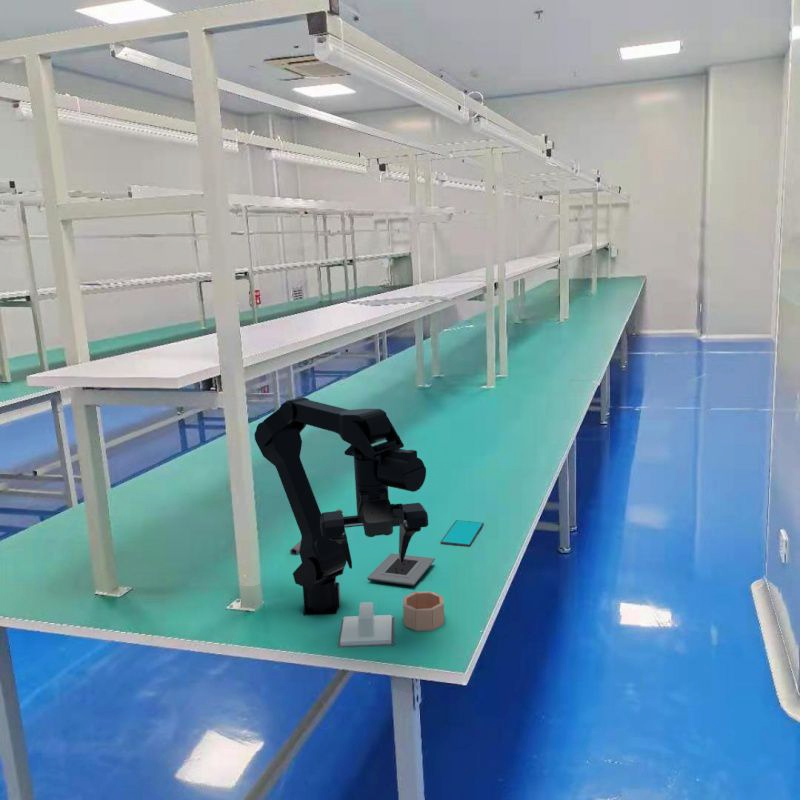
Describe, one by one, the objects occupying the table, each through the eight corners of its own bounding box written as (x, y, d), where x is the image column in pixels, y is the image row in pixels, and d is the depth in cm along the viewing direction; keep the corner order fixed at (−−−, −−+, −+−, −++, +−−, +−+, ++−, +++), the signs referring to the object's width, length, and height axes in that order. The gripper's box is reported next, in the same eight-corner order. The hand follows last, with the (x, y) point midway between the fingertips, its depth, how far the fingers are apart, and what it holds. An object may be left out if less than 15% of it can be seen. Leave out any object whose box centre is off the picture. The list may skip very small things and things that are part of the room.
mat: (337, 649, 127) (337, 647, 127) (341, 621, 137) (341, 619, 137) (394, 647, 127) (394, 645, 127) (394, 619, 137) (394, 617, 137)
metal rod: (290, 555, 170) (289, 547, 169) (336, 515, 195) (336, 508, 194) (297, 556, 169) (297, 548, 169) (342, 516, 194) (342, 509, 194)
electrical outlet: (414, 593, 148) (413, 582, 148) (367, 586, 152) (366, 576, 152) (435, 567, 160) (434, 557, 160) (391, 561, 164) (390, 551, 164)
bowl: (404, 634, 132) (403, 611, 131) (403, 614, 139) (402, 592, 138) (445, 632, 132) (444, 609, 131) (442, 612, 139) (442, 590, 138)
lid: (340, 645, 128) (339, 623, 127) (344, 620, 137) (343, 599, 136) (391, 643, 128) (390, 621, 127) (391, 618, 136) (390, 597, 136)
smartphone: (440, 542, 172) (456, 520, 186) (440, 545, 172) (456, 523, 186) (470, 545, 169) (484, 522, 183) (470, 548, 170) (484, 525, 183)
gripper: (321, 501, 118) (327, 590, 121) (433, 490, 121) (436, 577, 124) (317, 481, 129) (322, 563, 131) (420, 471, 132) (423, 552, 135)
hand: (376, 564), depth 130 cm, fingers open, 9 cm apart
